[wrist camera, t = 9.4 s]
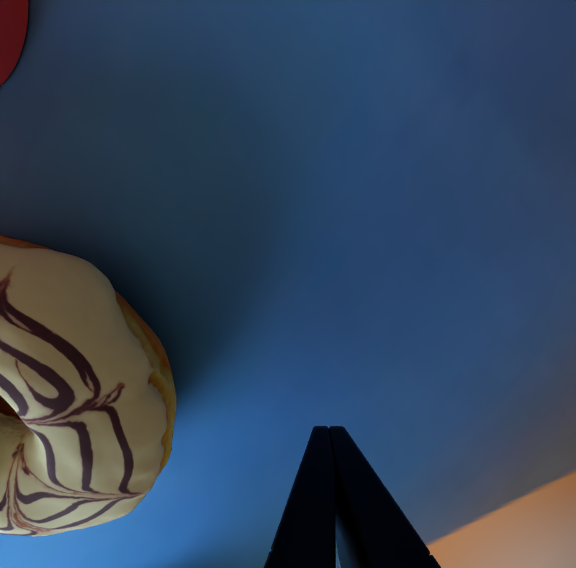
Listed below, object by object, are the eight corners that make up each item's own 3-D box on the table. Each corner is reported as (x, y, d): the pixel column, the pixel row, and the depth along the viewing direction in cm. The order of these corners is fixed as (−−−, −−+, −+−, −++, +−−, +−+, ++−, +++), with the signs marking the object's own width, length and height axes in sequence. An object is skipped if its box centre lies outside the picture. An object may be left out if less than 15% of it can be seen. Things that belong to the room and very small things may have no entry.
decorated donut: (122, 185, 9) (17, 196, 6) (228, 438, 13) (205, 538, 10) (-157, 261, 10) (-388, 310, 7) (16, 475, 14) (-76, 578, 11)
